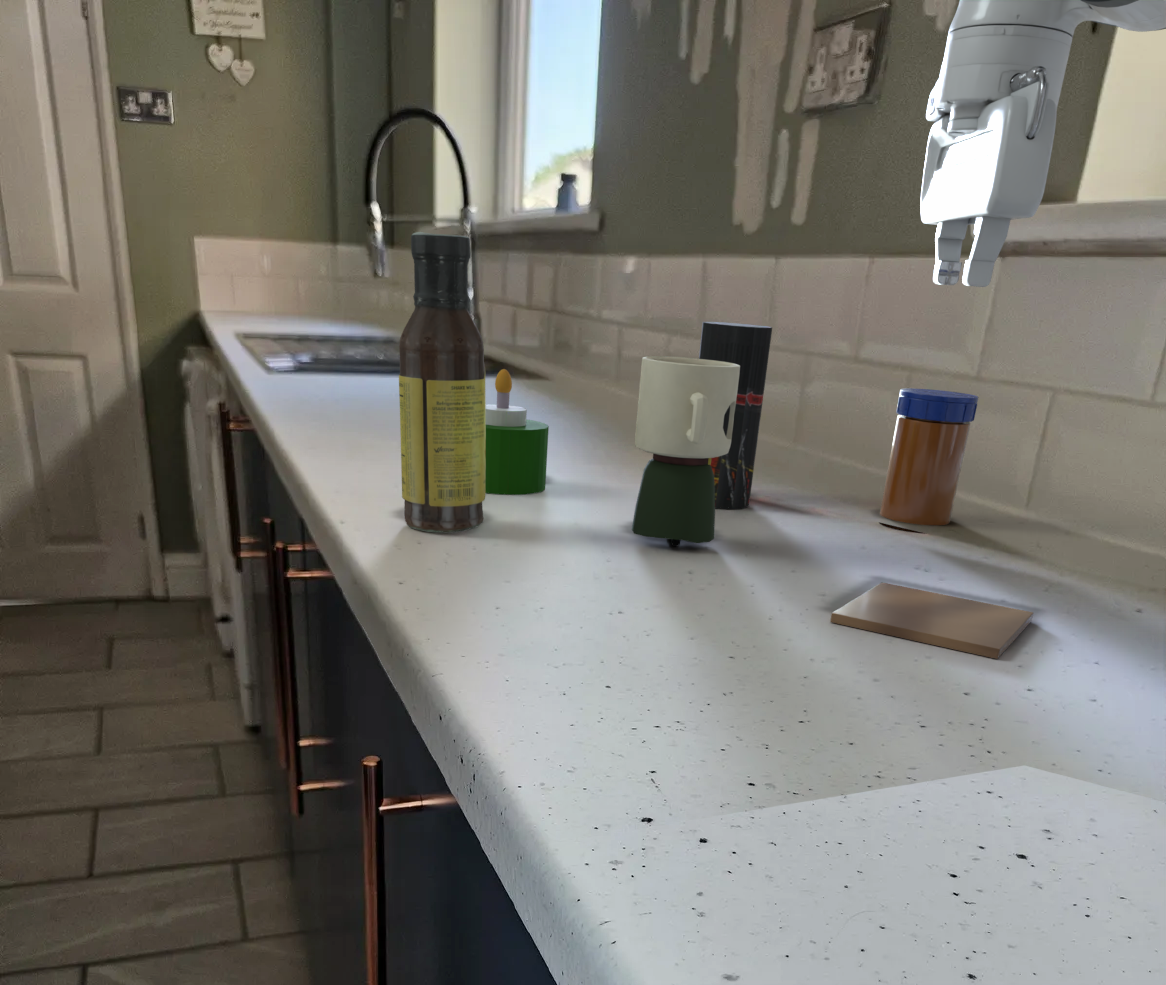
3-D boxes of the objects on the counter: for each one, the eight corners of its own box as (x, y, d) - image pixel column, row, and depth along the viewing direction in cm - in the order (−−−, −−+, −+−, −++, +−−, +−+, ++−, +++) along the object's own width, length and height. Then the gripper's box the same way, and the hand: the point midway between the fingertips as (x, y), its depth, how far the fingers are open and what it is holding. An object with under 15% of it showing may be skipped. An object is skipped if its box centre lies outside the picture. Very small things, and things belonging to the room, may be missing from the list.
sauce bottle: (497, 524, 85) (507, 239, 76) (462, 539, 79) (469, 234, 71) (422, 513, 87) (424, 233, 78) (384, 527, 81) (381, 228, 73)
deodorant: (761, 508, 98) (785, 328, 92) (702, 509, 96) (723, 325, 90) (729, 495, 103) (750, 323, 97) (672, 495, 101) (690, 320, 95)
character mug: (733, 561, 79) (758, 371, 74) (636, 557, 78) (654, 364, 73) (702, 528, 89) (722, 357, 83) (616, 523, 88) (630, 351, 82)
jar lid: (987, 420, 92) (992, 397, 91) (949, 423, 88) (954, 398, 87) (920, 410, 96) (925, 387, 95) (881, 412, 92) (885, 388, 91)
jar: (961, 529, 96) (988, 403, 91) (925, 536, 92) (952, 404, 88) (901, 516, 100) (924, 394, 95) (864, 522, 96) (887, 395, 91)
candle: (553, 496, 97) (560, 376, 93) (460, 493, 95) (463, 371, 91) (535, 478, 104) (541, 366, 100) (448, 475, 102) (450, 362, 98)
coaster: (1031, 621, 70) (1034, 612, 70) (997, 659, 62) (999, 649, 62) (879, 590, 74) (881, 581, 74) (829, 622, 67) (831, 612, 66)
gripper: (1097, 64, 72) (1044, 291, 78) (998, 105, 91) (961, 286, 97) (1003, 55, 72) (957, 284, 78) (923, 99, 91) (890, 280, 97)
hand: (958, 285), depth 88 cm, fingers open, 7 cm apart
